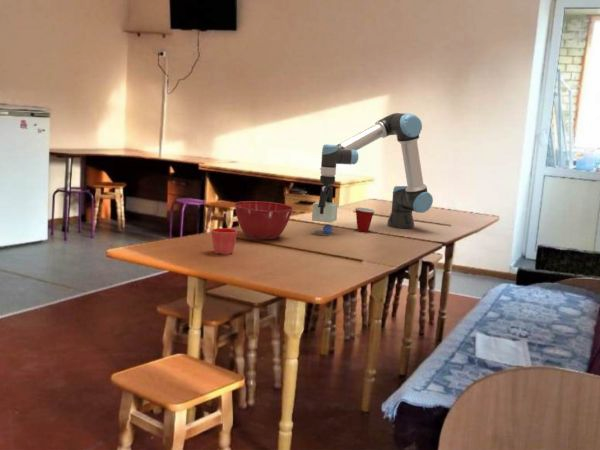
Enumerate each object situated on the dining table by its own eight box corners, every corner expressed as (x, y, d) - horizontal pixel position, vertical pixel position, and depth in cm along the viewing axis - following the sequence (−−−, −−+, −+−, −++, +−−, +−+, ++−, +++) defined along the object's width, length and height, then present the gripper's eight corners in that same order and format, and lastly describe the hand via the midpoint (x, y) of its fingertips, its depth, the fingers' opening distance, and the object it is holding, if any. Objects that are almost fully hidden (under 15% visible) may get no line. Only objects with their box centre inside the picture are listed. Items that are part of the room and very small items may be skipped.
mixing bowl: (299, 235, 340) (301, 205, 338) (278, 245, 314) (280, 212, 311) (247, 229, 349) (248, 199, 347) (222, 238, 323) (224, 205, 320)
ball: (322, 227, 353) (327, 235, 353) (320, 228, 348) (325, 236, 348) (329, 221, 352) (335, 229, 351) (327, 223, 347) (333, 231, 347)
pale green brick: (336, 220, 353) (337, 203, 352) (331, 222, 344) (332, 205, 342) (317, 217, 356) (318, 201, 355) (311, 220, 347) (313, 203, 345)
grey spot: (335, 233, 354) (335, 232, 354) (330, 236, 345) (330, 235, 345) (317, 230, 357) (317, 230, 357) (311, 233, 348) (311, 233, 348)
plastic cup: (372, 233, 360) (374, 211, 358) (351, 231, 362) (353, 209, 360) (374, 230, 370) (376, 208, 368) (354, 228, 372) (356, 206, 370)
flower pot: (211, 249, 296) (211, 227, 294) (236, 250, 297) (237, 228, 295) (209, 254, 286) (210, 231, 284) (236, 256, 287) (237, 233, 285)
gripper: (326, 173, 358) (323, 215, 362) (314, 176, 336) (310, 220, 340) (340, 174, 356) (337, 216, 359) (328, 177, 334) (325, 222, 338)
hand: (324, 218), depth 350 cm, fingers closed on pale green brick, 10 cm apart
